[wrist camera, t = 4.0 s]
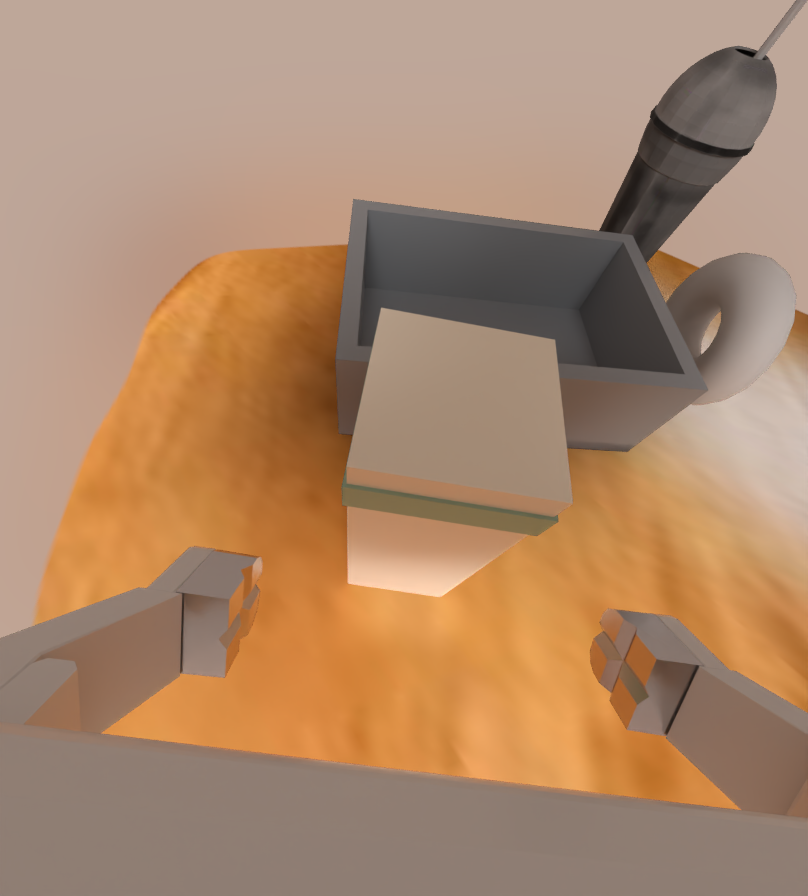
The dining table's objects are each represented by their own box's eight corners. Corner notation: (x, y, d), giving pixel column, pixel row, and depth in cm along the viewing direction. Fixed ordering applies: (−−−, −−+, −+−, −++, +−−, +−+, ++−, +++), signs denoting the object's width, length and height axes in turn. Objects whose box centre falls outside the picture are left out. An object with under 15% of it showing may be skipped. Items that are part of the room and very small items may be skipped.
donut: (627, 331, 33) (725, 214, 24) (664, 338, 33) (775, 224, 25) (652, 427, 28) (787, 324, 20) (697, 434, 28) (849, 335, 20)
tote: (581, 312, 34) (632, 235, 28) (627, 451, 27) (708, 390, 21) (352, 288, 31) (353, 199, 25) (338, 433, 25) (335, 359, 18)
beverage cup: (561, 246, 38) (736, -97, 21) (627, 252, 39) (847, -71, 22) (581, 296, 35) (813, -68, 17) (653, 301, 36) (940, -38, 18)
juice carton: (448, 508, 23) (557, 338, 11) (442, 599, 20) (577, 509, 8) (362, 494, 23) (378, 304, 11) (345, 585, 20) (341, 469, 8)
